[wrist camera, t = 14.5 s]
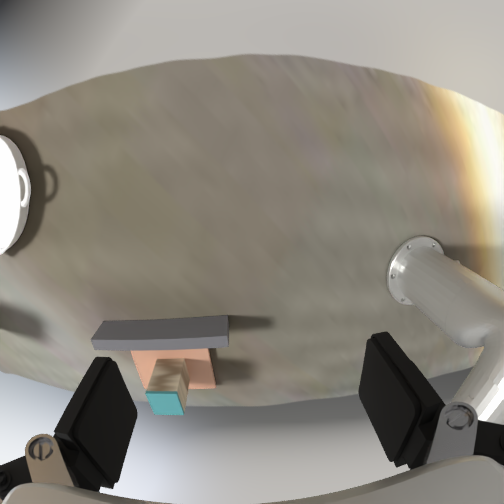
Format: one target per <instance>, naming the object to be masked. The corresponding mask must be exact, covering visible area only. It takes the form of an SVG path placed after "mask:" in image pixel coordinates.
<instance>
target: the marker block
mask: <svg viewBox="0 0 504 504" xmlns="http://www.w3.org/2000/svg"><path fill="white" fill-rule="evenodd" d="M189 382H190V378H189V374H188V370H187V367H186V363H185V359H184V358H173V359H157V360H156V363H155V366H154V369H153V372H152V375H151V378H150V381H149V384H148V387H147V390H146V393H145V394H146V396H147V398H148V401H149V403H150V405H151V407H152V410H153V412H154V414H159V415H184V412H185V406H186V400H187V393H188V387H189Z"/></svg>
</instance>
